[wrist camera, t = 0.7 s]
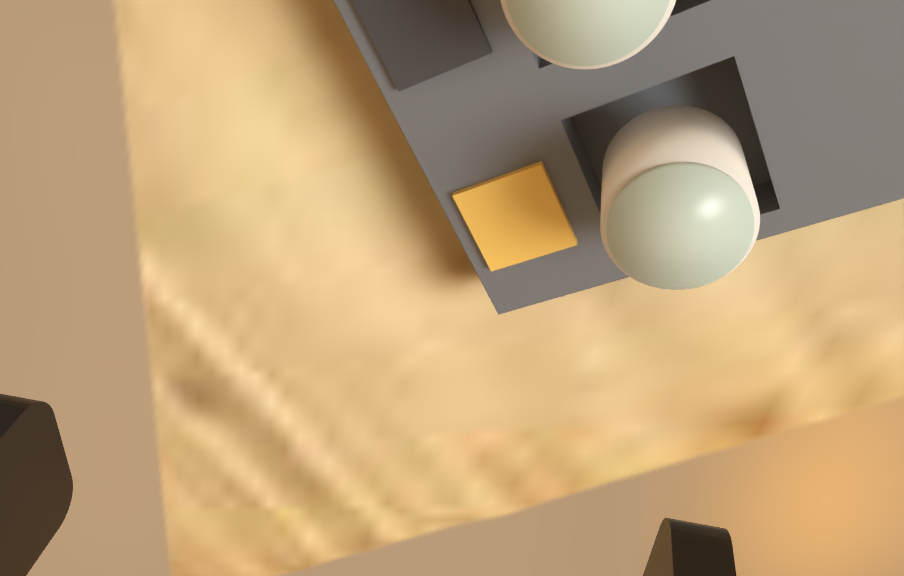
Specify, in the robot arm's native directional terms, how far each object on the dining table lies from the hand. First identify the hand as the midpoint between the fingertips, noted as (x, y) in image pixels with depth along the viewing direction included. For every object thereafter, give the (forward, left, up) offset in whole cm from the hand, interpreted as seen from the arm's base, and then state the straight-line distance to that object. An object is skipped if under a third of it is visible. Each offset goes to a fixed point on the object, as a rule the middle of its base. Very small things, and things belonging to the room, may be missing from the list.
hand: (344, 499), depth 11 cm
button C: (-3, +7, -20) cm, 21 cm away
